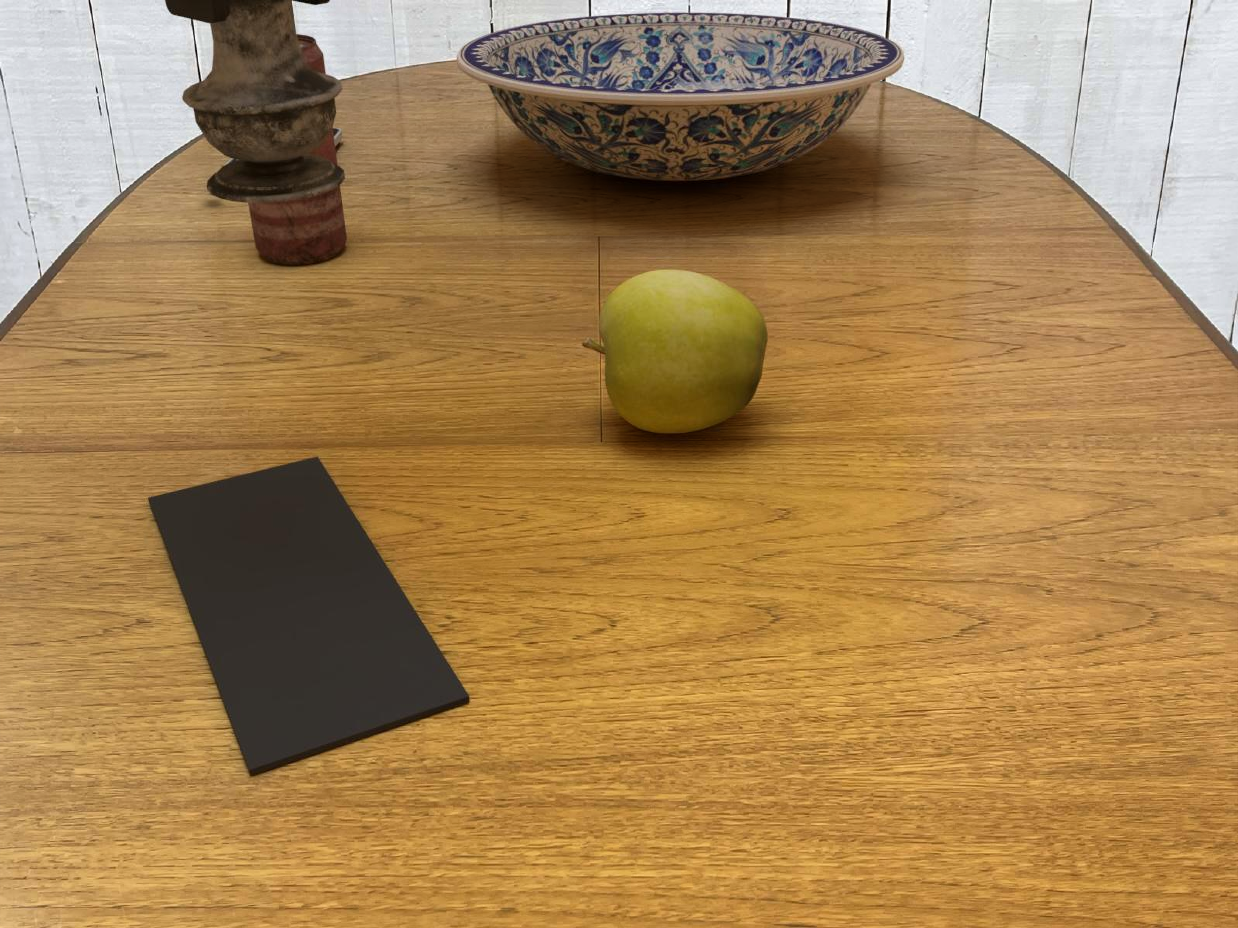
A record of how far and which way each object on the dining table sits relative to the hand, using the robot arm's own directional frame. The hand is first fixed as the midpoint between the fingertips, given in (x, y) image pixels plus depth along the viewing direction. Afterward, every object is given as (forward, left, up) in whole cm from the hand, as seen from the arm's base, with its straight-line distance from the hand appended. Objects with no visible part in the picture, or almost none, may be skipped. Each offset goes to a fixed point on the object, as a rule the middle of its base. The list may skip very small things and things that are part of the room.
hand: (249, 3), depth 46 cm
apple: (+18, 0, -22) cm, 29 cm away
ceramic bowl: (+40, +38, -22) cm, 59 cm away
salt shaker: (0, 0, -7) cm, 7 cm away
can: (+8, +34, -22) cm, 41 cm away
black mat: (-3, -5, -22) cm, 23 cm away
